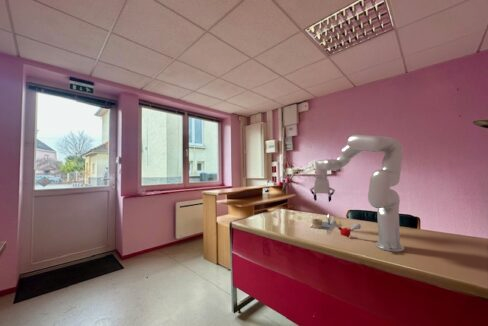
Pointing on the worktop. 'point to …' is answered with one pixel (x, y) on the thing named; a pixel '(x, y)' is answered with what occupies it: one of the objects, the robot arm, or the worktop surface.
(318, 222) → the bead
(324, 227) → the lacing board
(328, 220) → the needle post
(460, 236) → the worktop surface
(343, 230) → the molecular model
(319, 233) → the worktop surface
